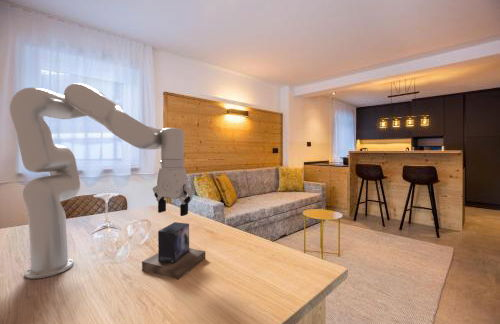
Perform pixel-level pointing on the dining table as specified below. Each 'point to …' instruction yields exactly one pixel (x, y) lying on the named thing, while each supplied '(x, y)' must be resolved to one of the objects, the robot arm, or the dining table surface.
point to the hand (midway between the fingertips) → (172, 213)
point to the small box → (173, 242)
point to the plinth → (174, 264)
